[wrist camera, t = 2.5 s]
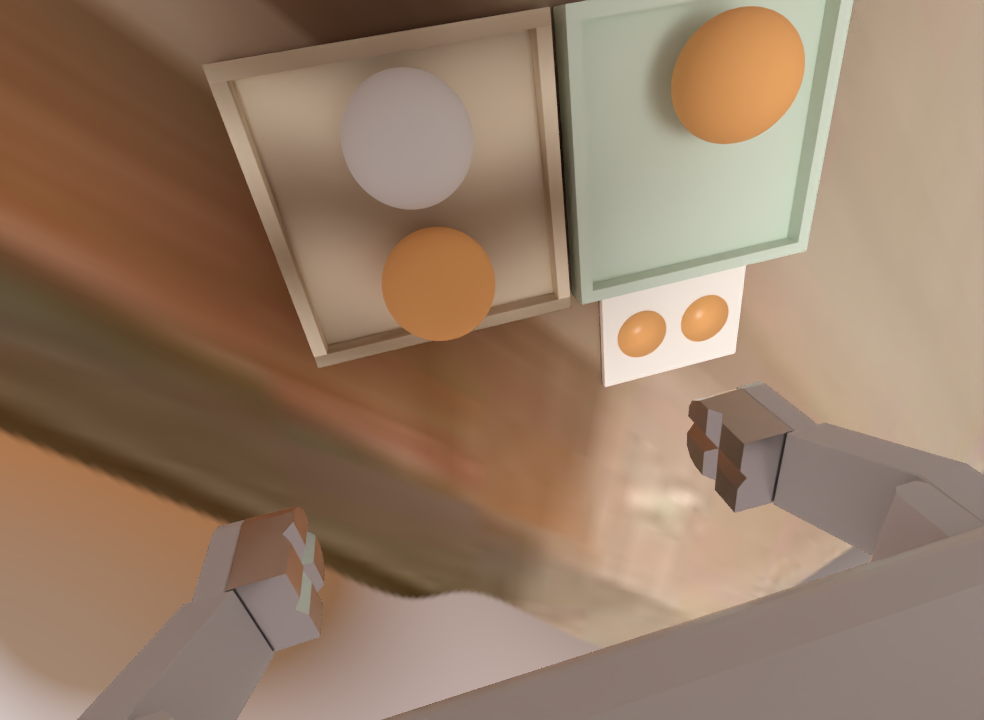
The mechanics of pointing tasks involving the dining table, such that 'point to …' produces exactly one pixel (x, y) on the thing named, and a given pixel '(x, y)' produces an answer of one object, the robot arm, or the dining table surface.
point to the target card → (670, 326)
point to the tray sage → (680, 147)
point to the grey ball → (407, 138)
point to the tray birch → (379, 227)
